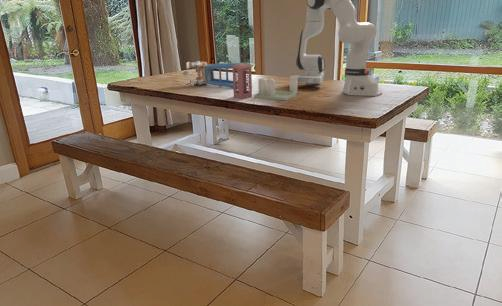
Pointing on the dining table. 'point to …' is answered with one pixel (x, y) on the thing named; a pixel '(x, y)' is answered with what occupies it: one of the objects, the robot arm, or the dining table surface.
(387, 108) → the dining table surface
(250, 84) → the miniature model
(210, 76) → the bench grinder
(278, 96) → the tray
